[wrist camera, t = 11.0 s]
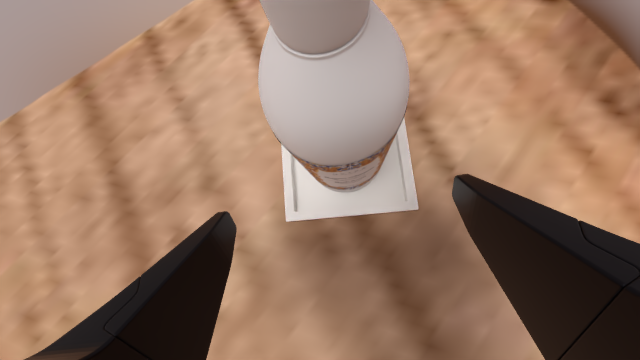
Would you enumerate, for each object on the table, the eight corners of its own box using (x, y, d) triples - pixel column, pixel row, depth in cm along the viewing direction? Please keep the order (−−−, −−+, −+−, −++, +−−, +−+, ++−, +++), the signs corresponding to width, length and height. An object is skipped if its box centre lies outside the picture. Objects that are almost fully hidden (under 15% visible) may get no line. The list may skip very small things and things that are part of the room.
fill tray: (395, 93, 24) (398, 84, 23) (414, 210, 22) (418, 209, 20) (283, 110, 26) (278, 103, 24) (290, 221, 23) (286, 221, 22)
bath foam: (315, 199, 23) (81, 75, 3) (304, 131, 24) (89, -241, 5) (389, 185, 22) (635, -77, 3) (373, 116, 23) (459, -404, 4)
